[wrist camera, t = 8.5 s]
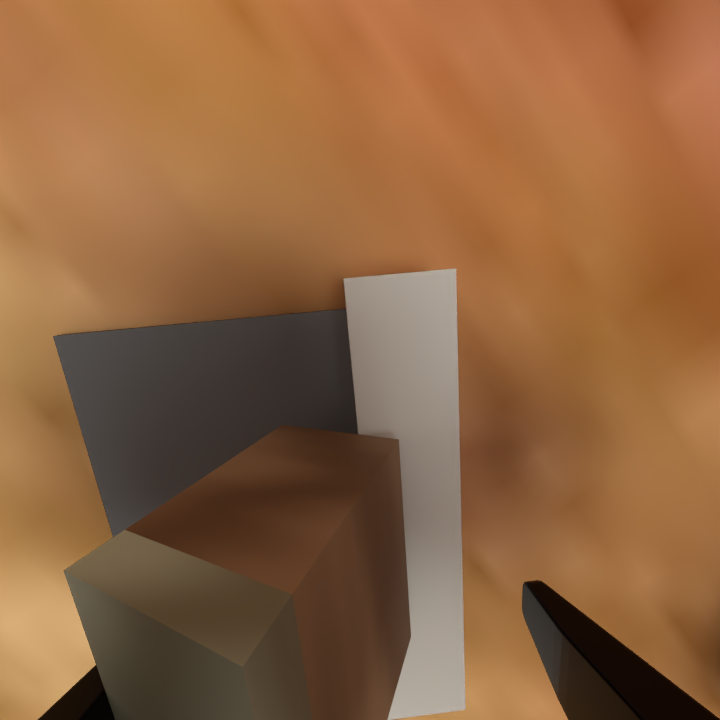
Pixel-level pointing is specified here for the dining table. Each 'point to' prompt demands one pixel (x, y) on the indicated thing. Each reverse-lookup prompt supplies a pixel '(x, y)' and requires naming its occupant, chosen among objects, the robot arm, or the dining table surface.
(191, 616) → the block
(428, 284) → the rail
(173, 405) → the mat
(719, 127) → the dining table surface
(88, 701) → the robot arm
